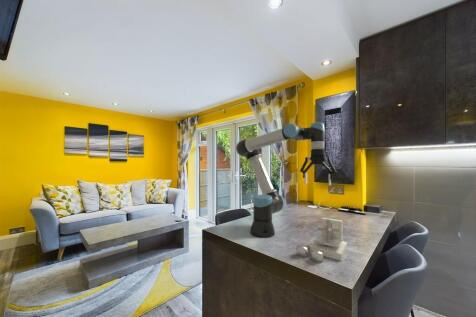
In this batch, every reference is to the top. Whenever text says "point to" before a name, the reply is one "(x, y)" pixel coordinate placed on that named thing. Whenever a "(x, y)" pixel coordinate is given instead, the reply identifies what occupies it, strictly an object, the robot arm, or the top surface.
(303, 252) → the cylinder
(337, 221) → the scale base
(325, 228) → the cream toy jack
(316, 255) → the cylinder
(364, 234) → the top surface
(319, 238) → the pan
